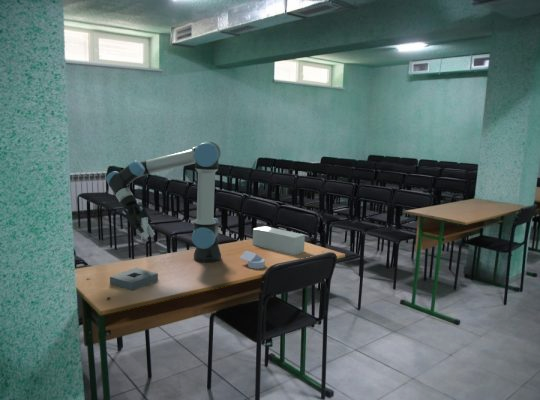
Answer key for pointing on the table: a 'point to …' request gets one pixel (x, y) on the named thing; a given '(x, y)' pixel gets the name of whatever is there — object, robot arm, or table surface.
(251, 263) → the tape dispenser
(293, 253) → the long white box
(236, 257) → the table surface
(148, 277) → the hole block
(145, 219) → the peg
